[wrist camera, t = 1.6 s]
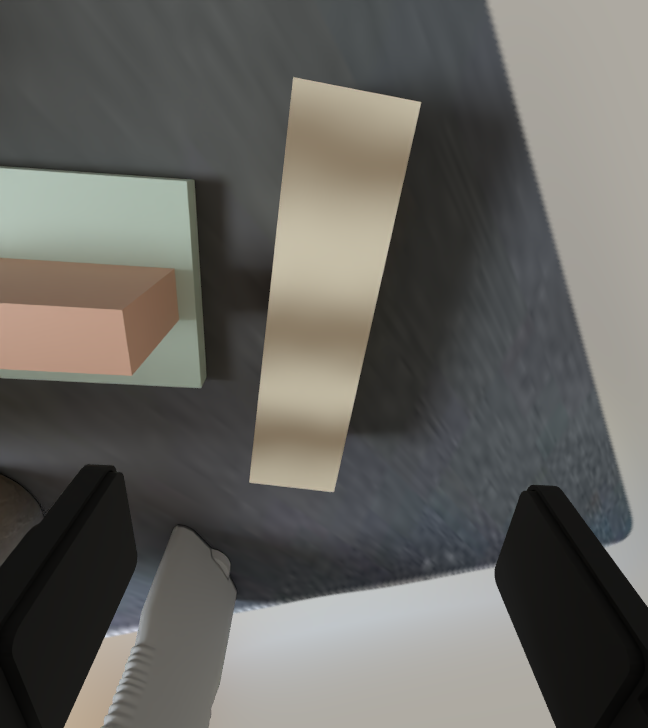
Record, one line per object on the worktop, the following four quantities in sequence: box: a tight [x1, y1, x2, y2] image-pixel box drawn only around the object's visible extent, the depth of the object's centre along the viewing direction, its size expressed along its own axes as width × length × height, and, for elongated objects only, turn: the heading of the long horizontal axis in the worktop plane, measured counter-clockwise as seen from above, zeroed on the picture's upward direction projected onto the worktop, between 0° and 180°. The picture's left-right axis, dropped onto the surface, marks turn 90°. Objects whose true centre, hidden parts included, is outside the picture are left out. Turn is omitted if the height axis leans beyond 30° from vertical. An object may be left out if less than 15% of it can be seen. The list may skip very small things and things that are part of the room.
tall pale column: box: [101, 525, 237, 728], centre depth 26 cm, size 11×4×22 cm, turn 21°
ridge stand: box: [0, 166, 207, 388], centre depth 21 cm, size 12×16×8 cm
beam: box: [249, 77, 421, 492], centre depth 23 cm, size 20×5×6 cm, turn 171°
